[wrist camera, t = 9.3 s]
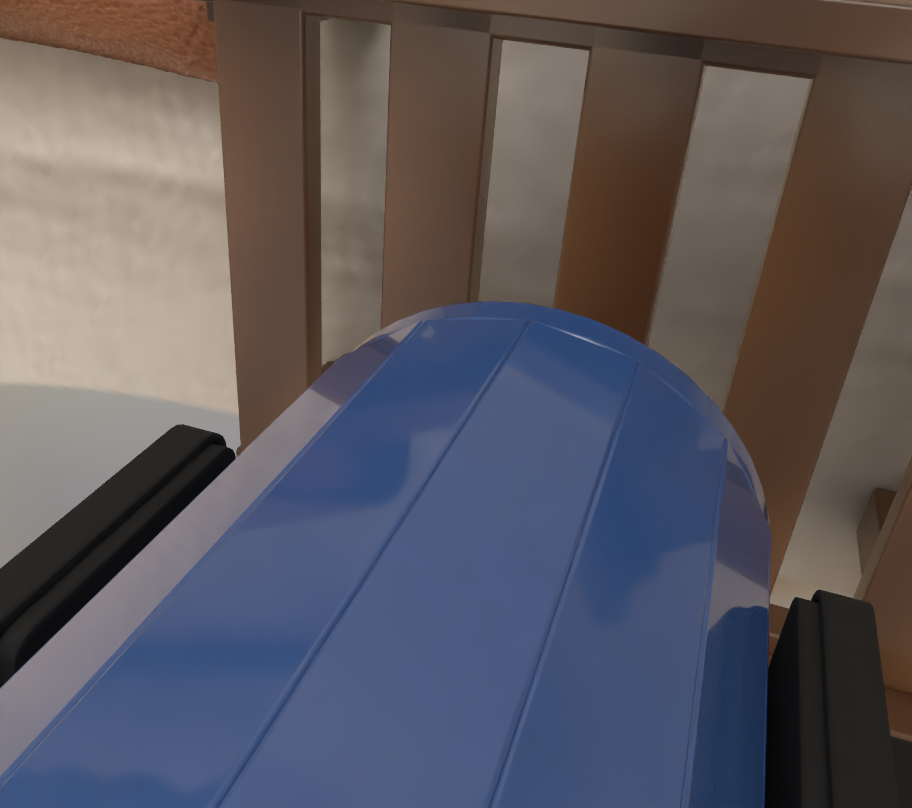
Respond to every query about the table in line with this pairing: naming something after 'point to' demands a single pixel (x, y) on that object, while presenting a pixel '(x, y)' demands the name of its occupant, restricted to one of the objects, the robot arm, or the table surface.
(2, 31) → the sunglasses case
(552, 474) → the cup
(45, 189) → the table surface
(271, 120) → the rack
